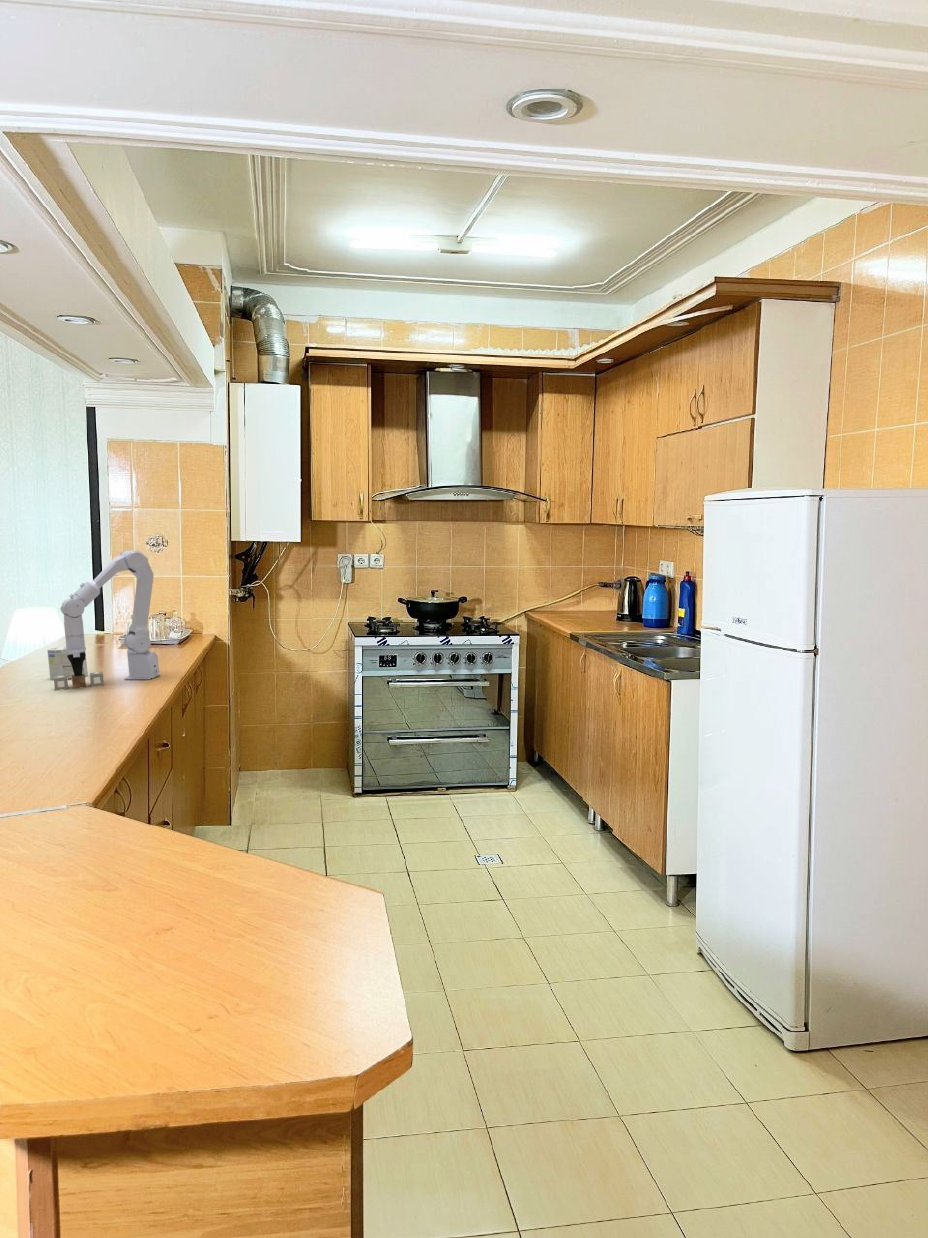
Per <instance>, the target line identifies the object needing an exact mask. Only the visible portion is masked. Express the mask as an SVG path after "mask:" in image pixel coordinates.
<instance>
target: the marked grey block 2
mask: <svg viewBox="0 0 928 1238" xmlns="http://www.w3.org/2000/svg"><path fill="white" fill-rule="evenodd" d="M89 679H90V687H91V686H92V687H98V686H97V685H102V686H105V682H104V673H103V671H98V672H97V671H96V672H89Z"/></svg>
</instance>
